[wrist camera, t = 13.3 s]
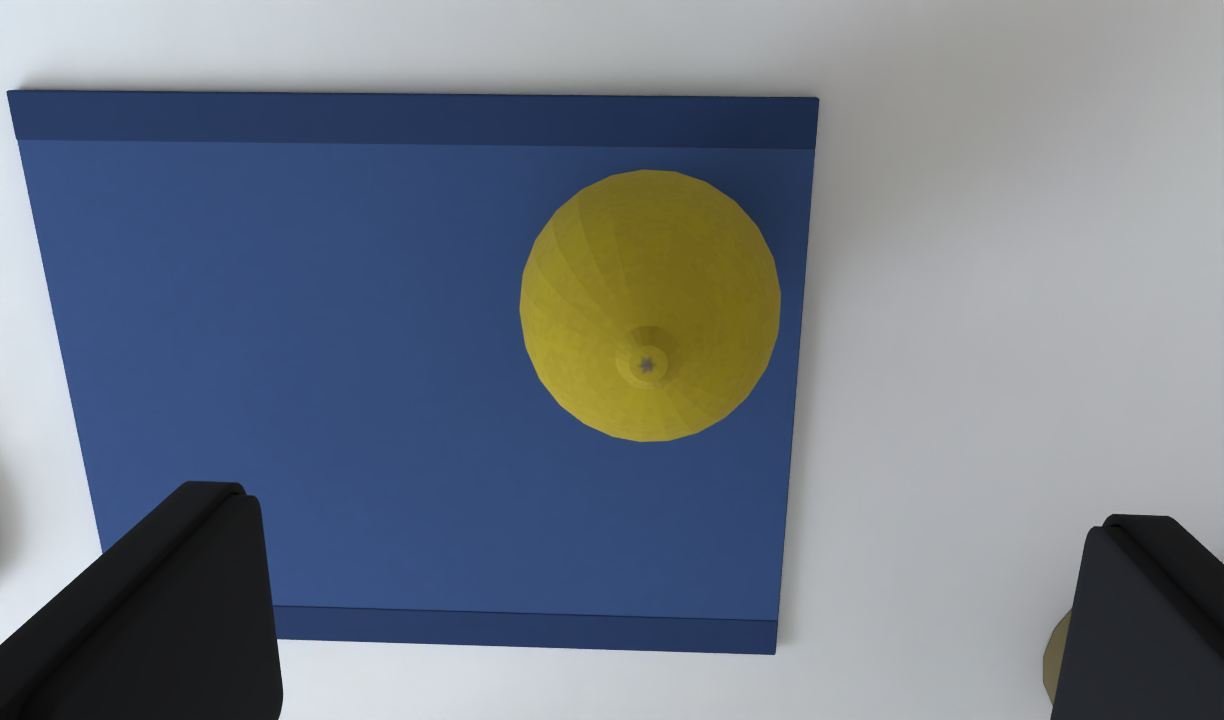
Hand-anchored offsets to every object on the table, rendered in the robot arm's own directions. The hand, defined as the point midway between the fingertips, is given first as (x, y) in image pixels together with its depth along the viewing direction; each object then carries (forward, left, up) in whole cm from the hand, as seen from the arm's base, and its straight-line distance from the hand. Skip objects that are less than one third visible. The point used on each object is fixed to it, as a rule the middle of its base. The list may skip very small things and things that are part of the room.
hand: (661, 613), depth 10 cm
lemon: (0, -1, -14) cm, 14 cm away
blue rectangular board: (+6, +3, -15) cm, 16 cm away
